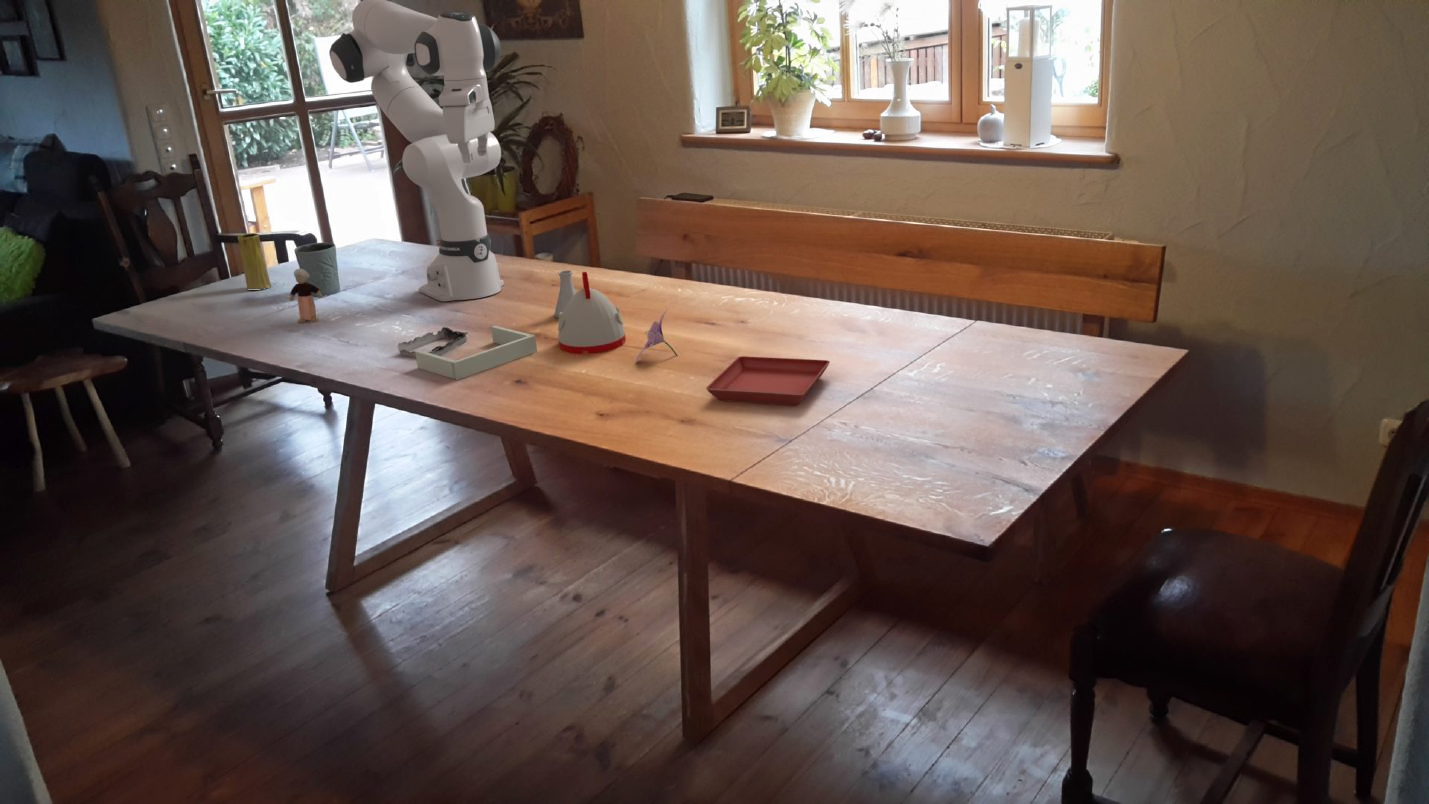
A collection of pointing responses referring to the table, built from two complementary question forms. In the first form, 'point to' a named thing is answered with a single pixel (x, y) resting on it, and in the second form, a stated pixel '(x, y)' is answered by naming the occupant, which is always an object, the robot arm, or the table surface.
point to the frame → (481, 355)
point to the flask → (564, 291)
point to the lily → (655, 336)
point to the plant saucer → (767, 380)
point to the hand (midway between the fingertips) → (475, 158)
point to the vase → (253, 261)
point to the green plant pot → (320, 266)
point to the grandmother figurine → (305, 296)
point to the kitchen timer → (590, 323)
